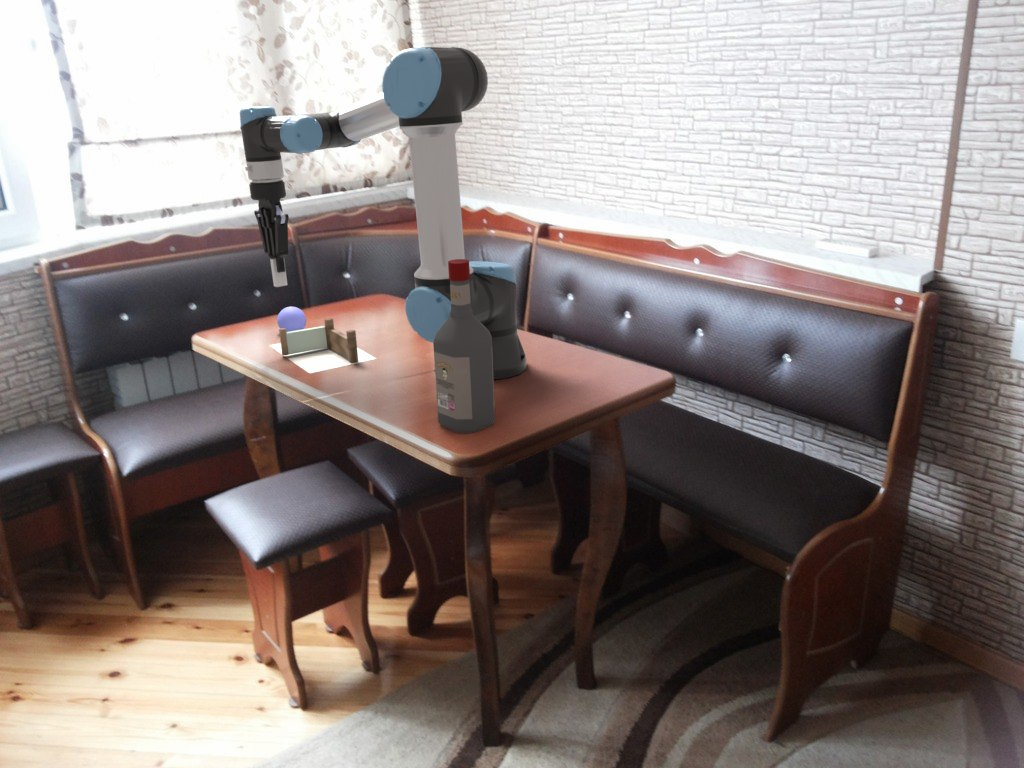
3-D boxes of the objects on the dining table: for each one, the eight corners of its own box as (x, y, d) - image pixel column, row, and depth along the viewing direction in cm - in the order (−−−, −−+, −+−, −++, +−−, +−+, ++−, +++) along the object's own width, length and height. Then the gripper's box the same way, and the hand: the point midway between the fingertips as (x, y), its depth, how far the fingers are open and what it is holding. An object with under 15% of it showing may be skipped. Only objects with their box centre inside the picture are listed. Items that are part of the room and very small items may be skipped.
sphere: (311, 330, 220) (308, 303, 218) (302, 338, 214) (299, 310, 211) (284, 330, 221) (281, 303, 218) (274, 338, 214) (271, 310, 212)
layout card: (377, 360, 195) (377, 358, 195) (309, 375, 187) (309, 373, 187) (331, 334, 216) (331, 332, 216) (268, 346, 208) (268, 344, 207)
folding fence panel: (325, 346, 204) (322, 321, 202) (327, 348, 202) (324, 323, 200) (281, 354, 199) (278, 328, 197) (283, 355, 198) (280, 330, 196)
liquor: (465, 437, 153) (456, 269, 143) (431, 424, 159) (420, 262, 149) (502, 422, 159) (496, 260, 149) (468, 410, 165) (460, 253, 155)
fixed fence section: (359, 361, 194) (356, 331, 191) (351, 363, 192) (348, 333, 190) (334, 346, 205) (331, 317, 203) (326, 348, 204) (322, 319, 201)
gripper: (238, 180, 193) (253, 284, 201) (262, 184, 184) (277, 293, 192) (270, 176, 198) (283, 278, 206) (295, 180, 188) (308, 287, 196)
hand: (280, 285), depth 199 cm, fingers closed
